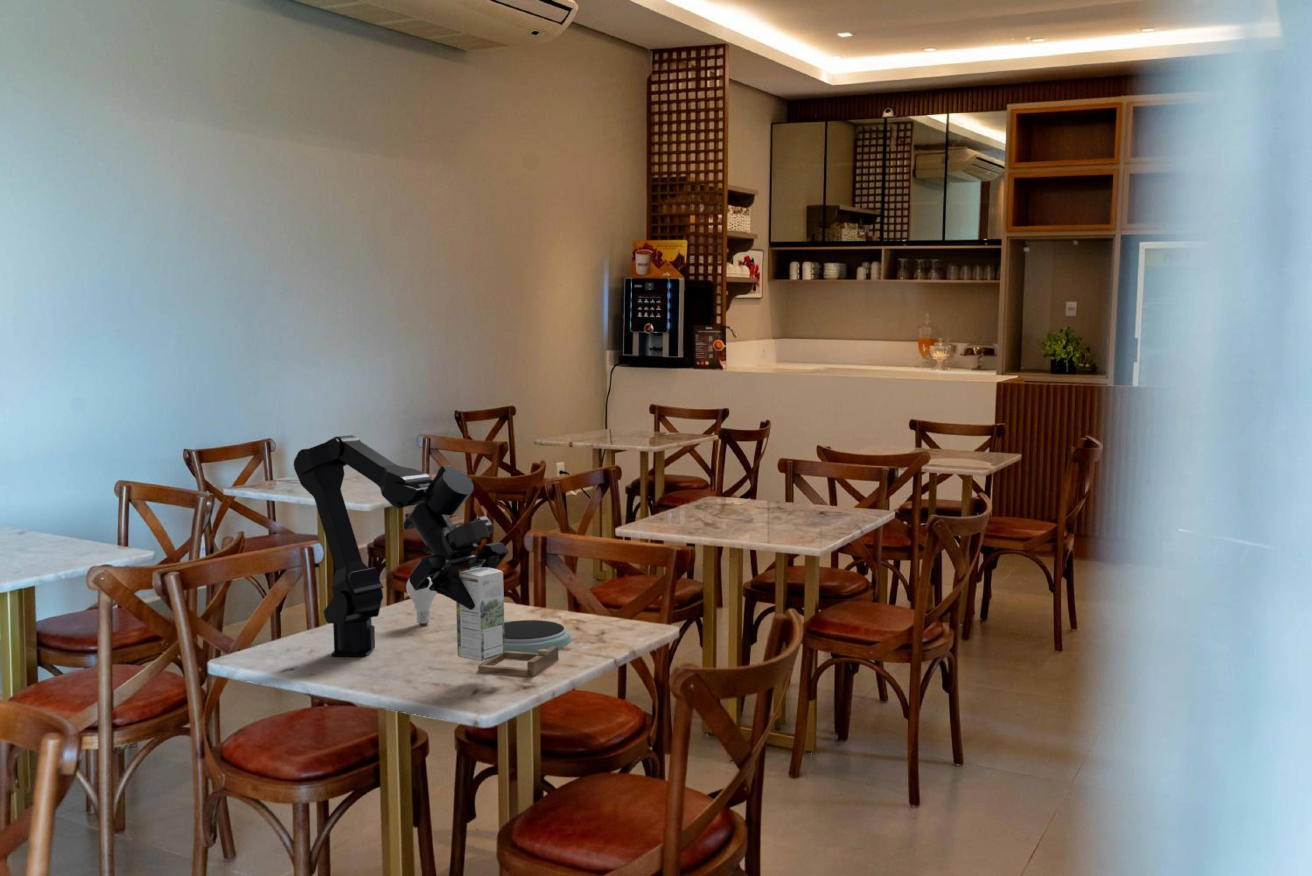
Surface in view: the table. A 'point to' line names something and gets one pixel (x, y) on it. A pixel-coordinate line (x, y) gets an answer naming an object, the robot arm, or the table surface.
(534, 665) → the square wooden frame
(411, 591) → the lightbulb
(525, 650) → the scale
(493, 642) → the syrup box
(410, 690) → the table surface
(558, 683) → the table surface
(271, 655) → the table surface
